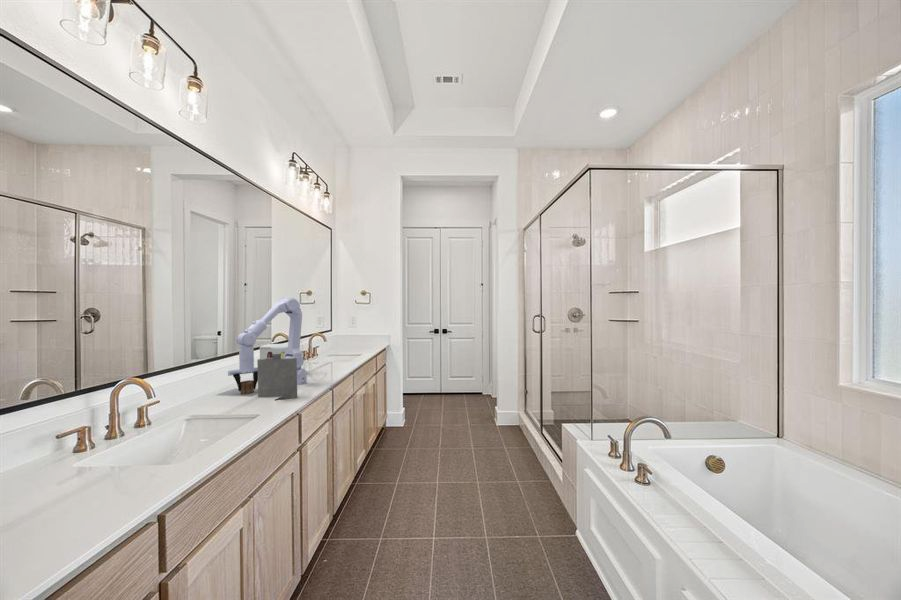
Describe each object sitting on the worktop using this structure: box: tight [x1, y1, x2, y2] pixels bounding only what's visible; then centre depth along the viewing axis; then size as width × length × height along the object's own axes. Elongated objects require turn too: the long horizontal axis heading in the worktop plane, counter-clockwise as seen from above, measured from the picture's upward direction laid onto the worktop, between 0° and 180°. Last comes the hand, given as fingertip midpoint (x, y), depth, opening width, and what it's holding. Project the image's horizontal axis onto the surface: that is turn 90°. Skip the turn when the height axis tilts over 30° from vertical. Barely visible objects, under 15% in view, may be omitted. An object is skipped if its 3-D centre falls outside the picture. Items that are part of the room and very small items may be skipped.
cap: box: [240, 379, 254, 394], centre depth 165 cm, size 5×5×5 cm
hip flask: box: [256, 353, 298, 401], centre depth 160 cm, size 16×4×20 cm, turn 100°
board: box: [216, 388, 258, 397], centre depth 167 cm, size 18×12×2 cm, turn 81°
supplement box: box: [259, 343, 288, 359], centre depth 209 cm, size 17×13×18 cm
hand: (247, 389), depth 165 cm, fingers closed on cap, 5 cm apart
